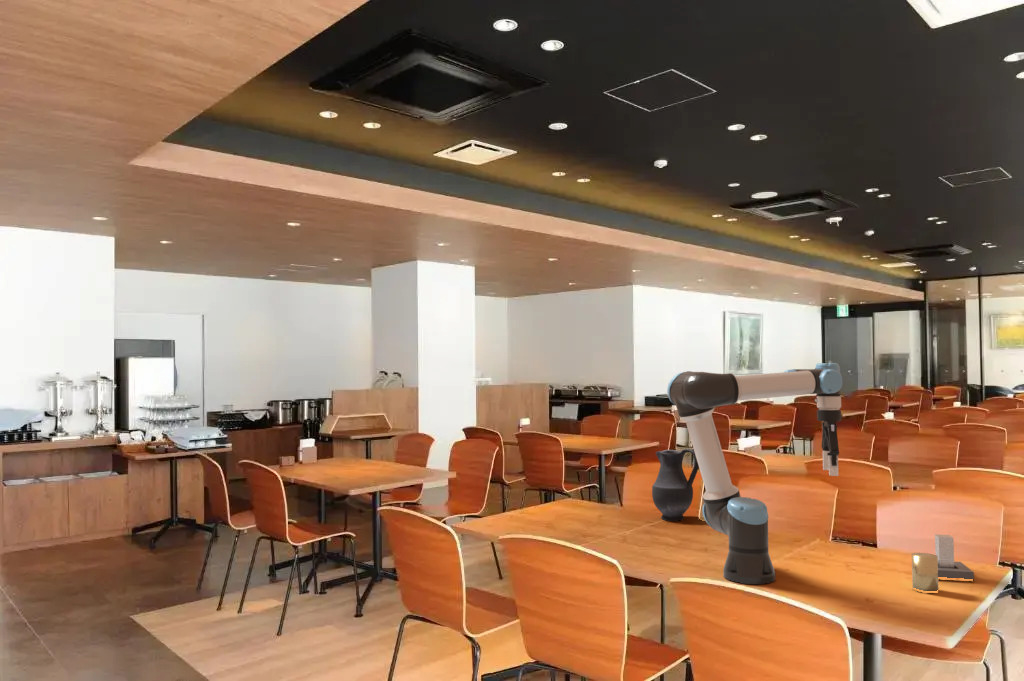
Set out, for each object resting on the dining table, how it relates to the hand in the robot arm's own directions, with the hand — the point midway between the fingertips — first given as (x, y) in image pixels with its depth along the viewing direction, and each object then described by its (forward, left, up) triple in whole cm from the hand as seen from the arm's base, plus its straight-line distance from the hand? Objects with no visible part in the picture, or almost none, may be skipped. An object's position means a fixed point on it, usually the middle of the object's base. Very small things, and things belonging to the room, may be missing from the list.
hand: (830, 472), depth 251 cm
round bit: (-31, -20, -29) cm, 47 cm away
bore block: (-13, -30, -29) cm, 44 cm away
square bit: (-13, -30, -29) cm, 44 cm away
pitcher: (+57, +53, -29) cm, 83 cm away
